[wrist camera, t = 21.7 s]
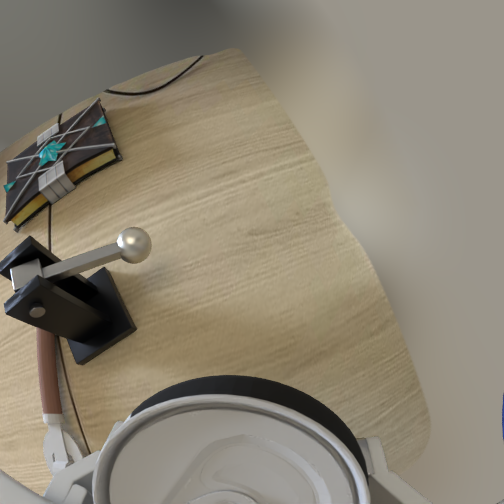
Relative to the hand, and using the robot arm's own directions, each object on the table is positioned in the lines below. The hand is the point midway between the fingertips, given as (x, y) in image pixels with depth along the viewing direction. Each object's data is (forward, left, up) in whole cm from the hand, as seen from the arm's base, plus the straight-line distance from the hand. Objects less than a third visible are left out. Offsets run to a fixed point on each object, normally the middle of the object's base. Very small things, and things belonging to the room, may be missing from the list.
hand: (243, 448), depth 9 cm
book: (+8, -45, -17) cm, 49 cm away
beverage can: (0, +1, -7) cm, 7 cm away
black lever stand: (+10, -17, -17) cm, 26 cm away
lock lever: (+6, -17, -10) cm, 21 cm away
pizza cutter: (+20, -11, -17) cm, 29 cm away
